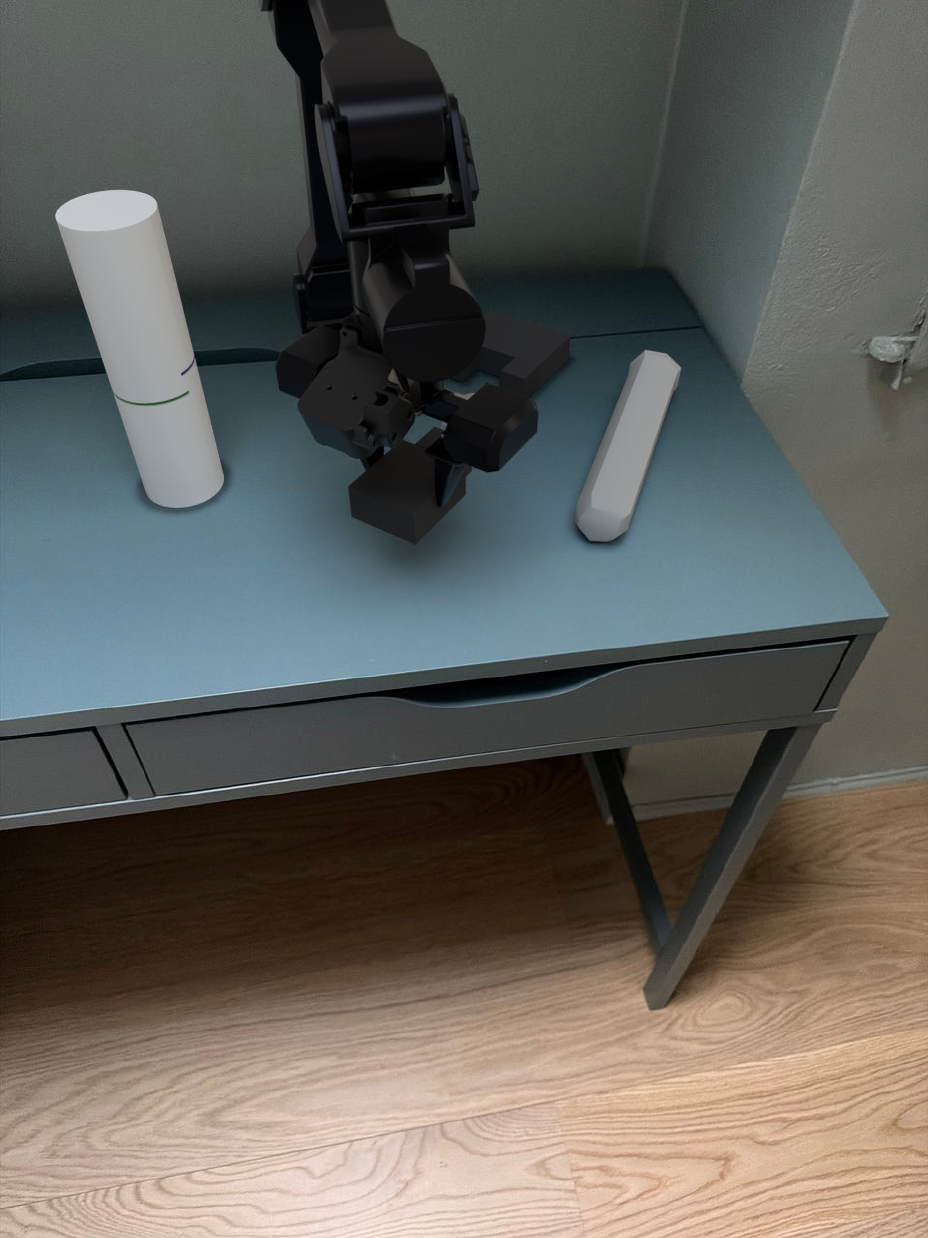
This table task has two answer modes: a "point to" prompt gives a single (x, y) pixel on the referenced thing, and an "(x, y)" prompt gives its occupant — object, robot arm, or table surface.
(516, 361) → the notch pad
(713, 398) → the table surface
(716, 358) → the table surface
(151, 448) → the cylindrical container
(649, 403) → the tube
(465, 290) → the robot arm
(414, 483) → the pad
